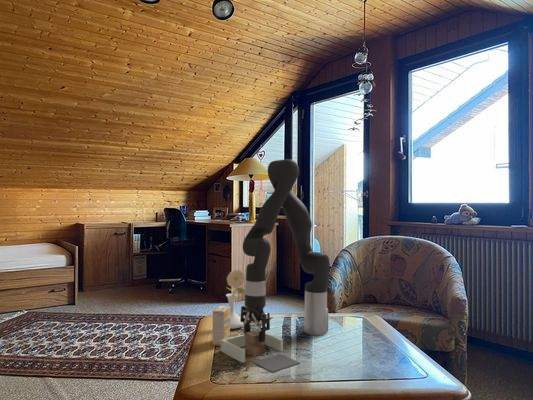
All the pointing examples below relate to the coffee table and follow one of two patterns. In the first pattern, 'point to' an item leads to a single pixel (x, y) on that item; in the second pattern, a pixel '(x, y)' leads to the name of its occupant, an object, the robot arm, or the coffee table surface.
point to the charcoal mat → (276, 363)
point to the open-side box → (234, 343)
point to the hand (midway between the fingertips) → (254, 338)
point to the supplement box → (221, 324)
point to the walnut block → (254, 343)
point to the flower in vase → (235, 280)
